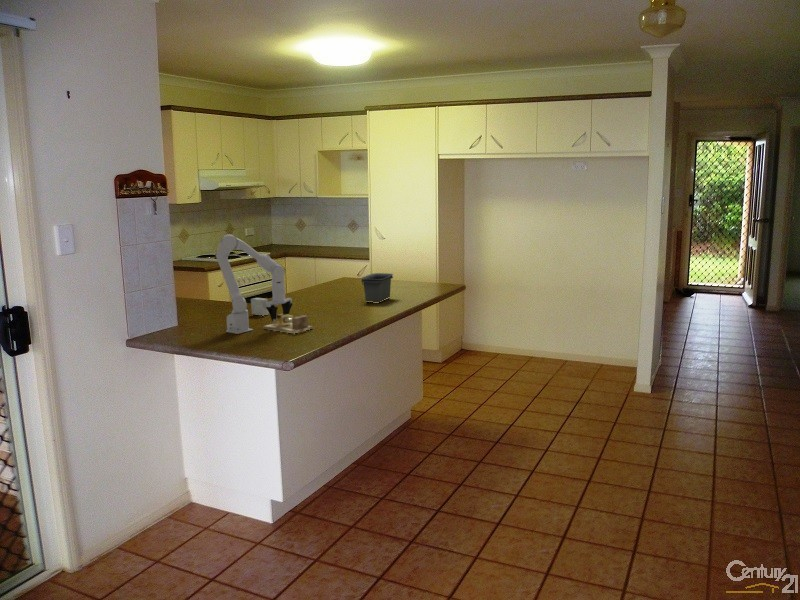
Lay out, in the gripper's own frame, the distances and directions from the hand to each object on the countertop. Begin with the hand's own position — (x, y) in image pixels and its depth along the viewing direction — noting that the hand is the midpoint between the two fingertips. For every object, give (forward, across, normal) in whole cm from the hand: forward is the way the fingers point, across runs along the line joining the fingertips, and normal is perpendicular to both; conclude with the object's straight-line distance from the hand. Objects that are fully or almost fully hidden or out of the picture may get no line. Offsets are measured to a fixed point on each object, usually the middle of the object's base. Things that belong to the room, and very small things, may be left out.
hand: (280, 319), depth 311 cm
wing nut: (+2, 0, -2) cm, 3 cm away
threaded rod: (+1, 0, -4) cm, 4 cm away
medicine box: (+4, +16, +31) cm, 35 cm away
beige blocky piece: (+4, 0, -5) cm, 6 cm away
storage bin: (+4, +80, +6) cm, 80 cm away
